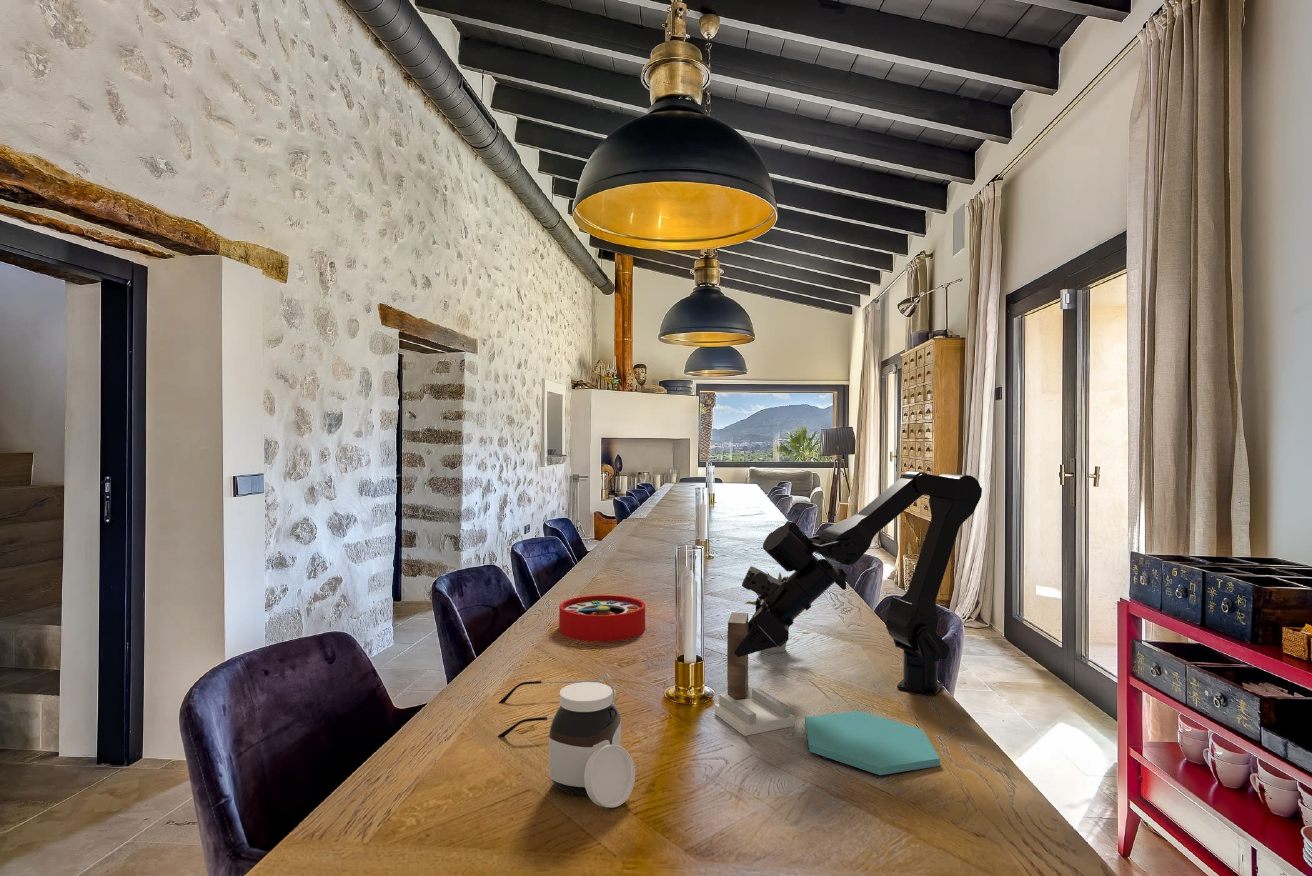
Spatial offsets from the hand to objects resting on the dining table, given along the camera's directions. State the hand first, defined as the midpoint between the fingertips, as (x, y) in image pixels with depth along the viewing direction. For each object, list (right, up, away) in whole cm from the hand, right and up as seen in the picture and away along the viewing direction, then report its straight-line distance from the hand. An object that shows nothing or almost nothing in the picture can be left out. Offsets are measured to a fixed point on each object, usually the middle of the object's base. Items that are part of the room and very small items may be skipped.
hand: (738, 646), depth 119 cm
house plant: (+11, -8, +23) cm, 27 cm away
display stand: (+1, -8, -12) cm, 14 cm away
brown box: (0, -8, 0) cm, 8 cm away
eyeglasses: (-30, -8, -10) cm, 33 cm away
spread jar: (-22, -8, -33) cm, 41 cm away
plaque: (+16, -9, -20) cm, 28 cm away
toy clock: (-27, -8, +40) cm, 48 cm away
